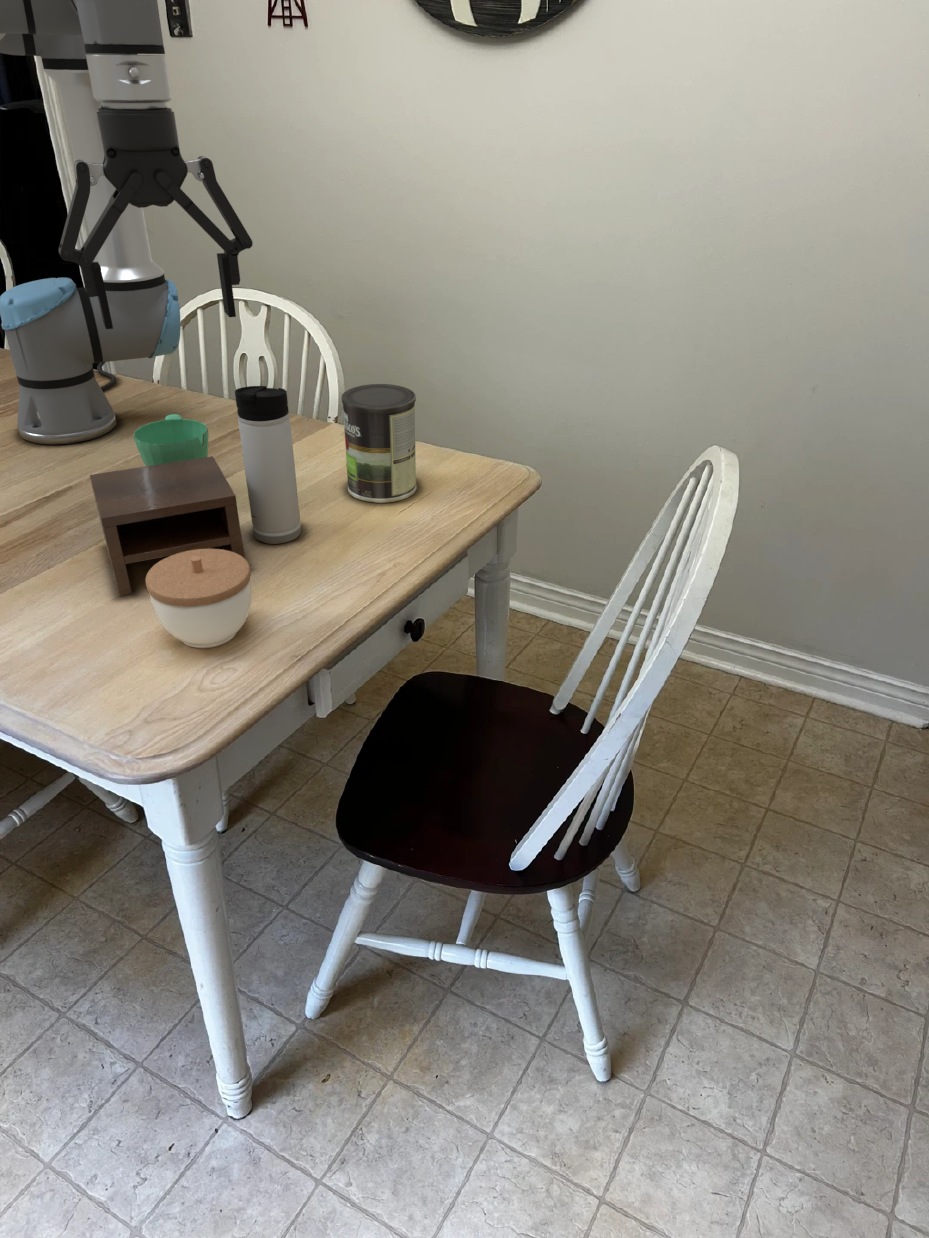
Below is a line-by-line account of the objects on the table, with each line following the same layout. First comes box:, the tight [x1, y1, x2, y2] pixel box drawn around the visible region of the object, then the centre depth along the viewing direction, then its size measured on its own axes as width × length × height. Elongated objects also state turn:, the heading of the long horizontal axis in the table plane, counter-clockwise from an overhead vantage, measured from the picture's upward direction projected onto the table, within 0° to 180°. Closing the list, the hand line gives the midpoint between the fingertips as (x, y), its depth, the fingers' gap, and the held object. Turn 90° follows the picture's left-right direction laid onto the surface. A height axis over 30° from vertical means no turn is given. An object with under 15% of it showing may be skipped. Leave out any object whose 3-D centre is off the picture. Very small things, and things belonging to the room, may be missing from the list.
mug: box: [133, 413, 209, 467], centre depth 124 cm, size 15×10×10 cm
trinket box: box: [144, 548, 253, 649], centre depth 94 cm, size 11×11×9 cm
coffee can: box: [341, 383, 418, 504], centre depth 125 cm, size 10×10×14 cm
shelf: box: [89, 455, 246, 597], centre depth 107 cm, size 13×15×10 cm
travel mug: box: [234, 385, 302, 545], centre depth 111 cm, size 6×7×20 cm
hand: (170, 320), depth 100 cm, fingers open, 13 cm apart
